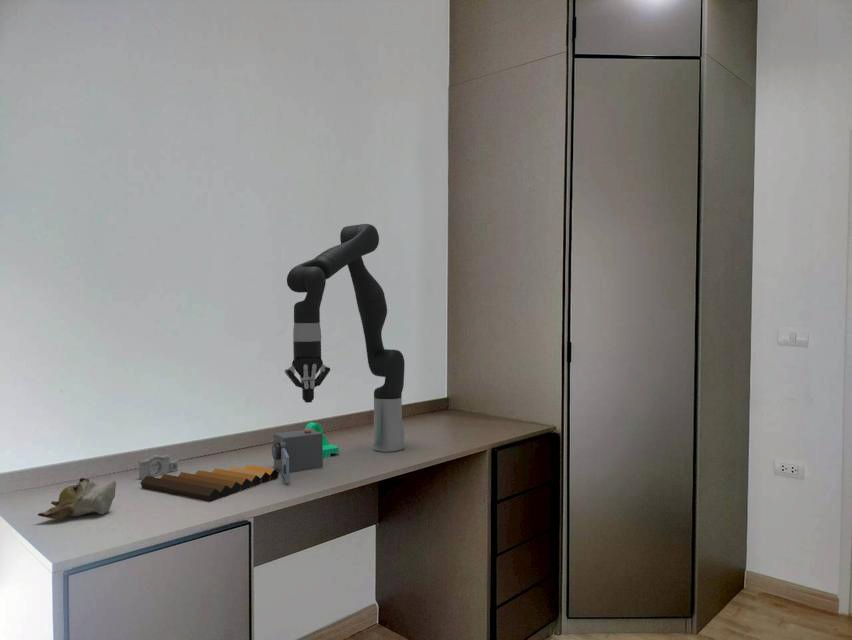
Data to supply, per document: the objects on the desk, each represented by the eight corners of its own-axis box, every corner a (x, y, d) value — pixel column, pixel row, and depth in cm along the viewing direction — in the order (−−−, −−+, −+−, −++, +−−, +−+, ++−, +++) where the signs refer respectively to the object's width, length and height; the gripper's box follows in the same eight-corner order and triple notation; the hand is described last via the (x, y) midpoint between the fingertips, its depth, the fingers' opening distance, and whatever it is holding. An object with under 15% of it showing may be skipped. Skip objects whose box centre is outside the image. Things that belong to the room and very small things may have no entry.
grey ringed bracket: (175, 470, 185) (174, 449, 185) (179, 470, 184) (178, 450, 184) (137, 479, 175) (137, 458, 175) (141, 480, 174) (141, 458, 174)
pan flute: (140, 490, 166) (209, 504, 154) (140, 477, 166) (209, 490, 154) (213, 468, 188) (278, 479, 176) (213, 457, 188) (278, 467, 176)
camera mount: (307, 461, 195) (307, 428, 195) (294, 457, 201) (294, 424, 201) (340, 455, 203) (340, 423, 203) (327, 451, 209) (327, 420, 209)
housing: (311, 461, 194) (311, 426, 194) (325, 468, 186) (324, 431, 186) (269, 467, 187) (269, 431, 187) (281, 475, 179) (281, 436, 179)
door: (290, 483, 169) (289, 456, 169) (283, 483, 168) (283, 457, 168) (285, 471, 181) (285, 447, 180) (279, 472, 180) (279, 447, 180)
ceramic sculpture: (110, 480, 141) (34, 489, 137) (112, 518, 142) (37, 528, 138) (120, 468, 152) (50, 477, 148) (122, 504, 152) (53, 513, 148)
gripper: (325, 337, 181) (325, 398, 182) (279, 339, 175) (280, 402, 175) (334, 339, 175) (335, 401, 175) (287, 341, 168) (289, 406, 169)
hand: (308, 402), depth 175 cm, fingers closed
